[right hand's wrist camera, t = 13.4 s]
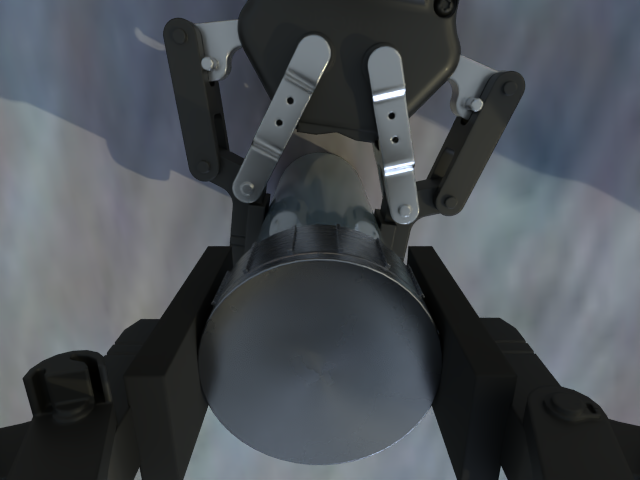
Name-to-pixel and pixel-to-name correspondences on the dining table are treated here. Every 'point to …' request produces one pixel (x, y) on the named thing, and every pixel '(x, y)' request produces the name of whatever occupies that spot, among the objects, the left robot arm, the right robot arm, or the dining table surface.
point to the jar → (319, 197)
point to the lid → (320, 347)
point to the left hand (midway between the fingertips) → (312, 281)
